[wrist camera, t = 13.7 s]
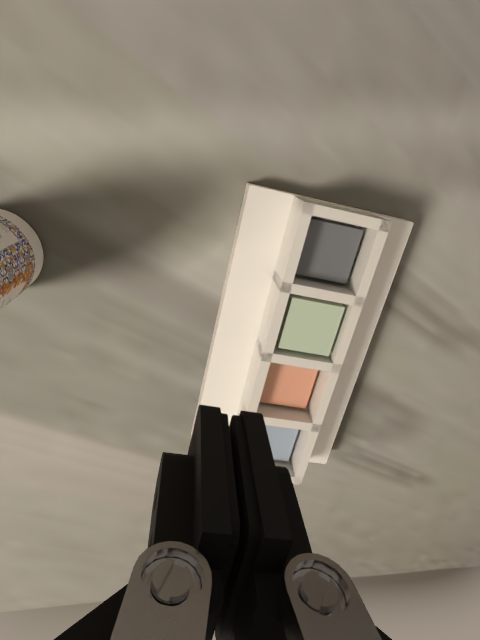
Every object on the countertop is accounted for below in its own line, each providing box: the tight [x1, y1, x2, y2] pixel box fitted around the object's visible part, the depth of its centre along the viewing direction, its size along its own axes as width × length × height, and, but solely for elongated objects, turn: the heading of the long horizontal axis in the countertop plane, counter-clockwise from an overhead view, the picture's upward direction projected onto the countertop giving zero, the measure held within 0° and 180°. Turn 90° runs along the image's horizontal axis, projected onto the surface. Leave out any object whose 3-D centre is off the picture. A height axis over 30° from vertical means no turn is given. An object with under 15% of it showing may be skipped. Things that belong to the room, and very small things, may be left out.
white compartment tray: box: [191, 183, 414, 485], centre depth 38 cm, size 25×14×6 cm, turn 167°
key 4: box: [265, 425, 299, 461], centre depth 41 cm, size 4×4×2 cm
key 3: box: [260, 362, 318, 409], centre depth 39 cm, size 4×4×2 cm
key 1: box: [296, 217, 364, 284], centre depth 34 cm, size 4×4×2 cm
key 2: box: [276, 294, 345, 356], centre depth 35 cm, size 4×4×2 cm
